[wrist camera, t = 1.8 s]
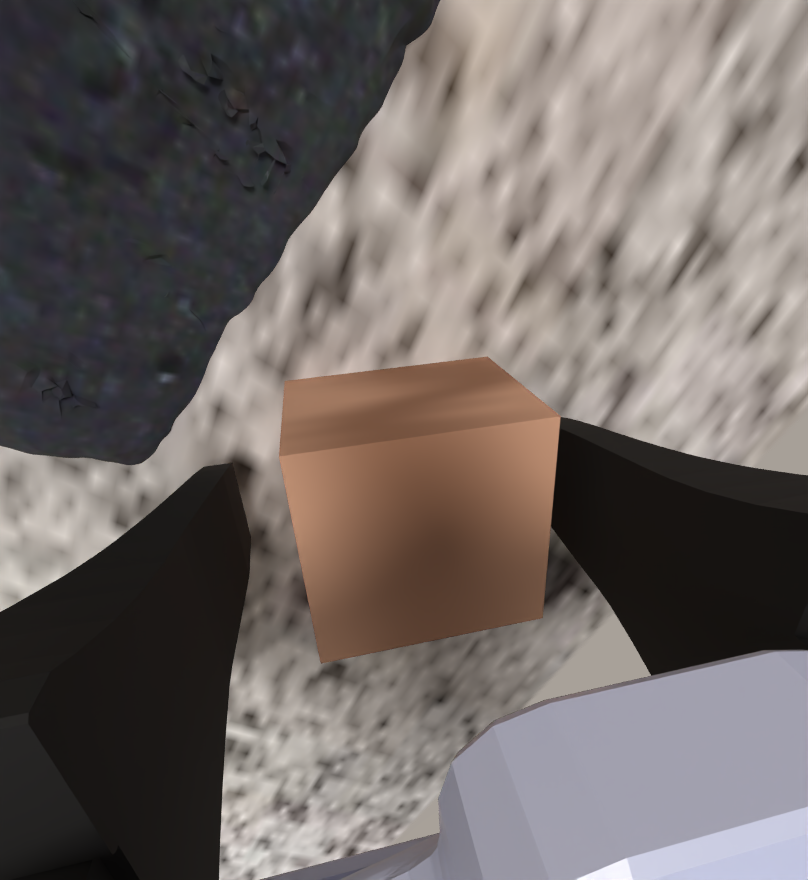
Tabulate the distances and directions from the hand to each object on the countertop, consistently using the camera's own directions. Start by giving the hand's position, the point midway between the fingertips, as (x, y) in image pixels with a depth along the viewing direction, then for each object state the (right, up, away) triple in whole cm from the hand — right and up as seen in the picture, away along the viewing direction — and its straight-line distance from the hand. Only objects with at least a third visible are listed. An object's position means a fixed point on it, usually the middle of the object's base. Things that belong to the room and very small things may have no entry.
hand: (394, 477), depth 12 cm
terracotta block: (0, 0, +2) cm, 2 cm away
